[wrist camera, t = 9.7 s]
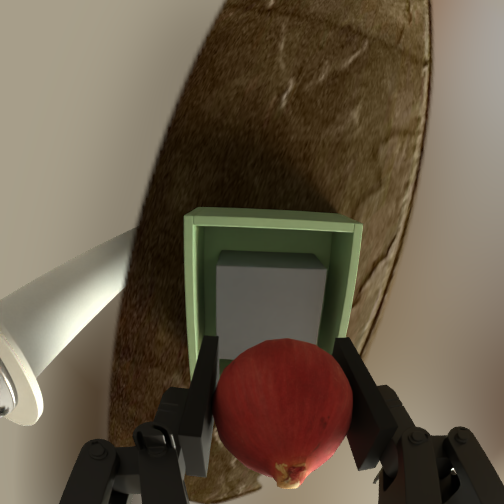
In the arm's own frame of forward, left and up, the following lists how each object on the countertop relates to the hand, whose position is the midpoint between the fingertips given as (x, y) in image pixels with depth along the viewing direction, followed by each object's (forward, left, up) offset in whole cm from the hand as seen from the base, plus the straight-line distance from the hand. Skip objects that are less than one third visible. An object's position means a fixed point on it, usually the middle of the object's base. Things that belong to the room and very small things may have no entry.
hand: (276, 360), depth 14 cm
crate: (0, 0, -9) cm, 9 cm away
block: (0, 0, -9) cm, 9 cm away
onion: (0, 0, 0) cm, 0 cm away
